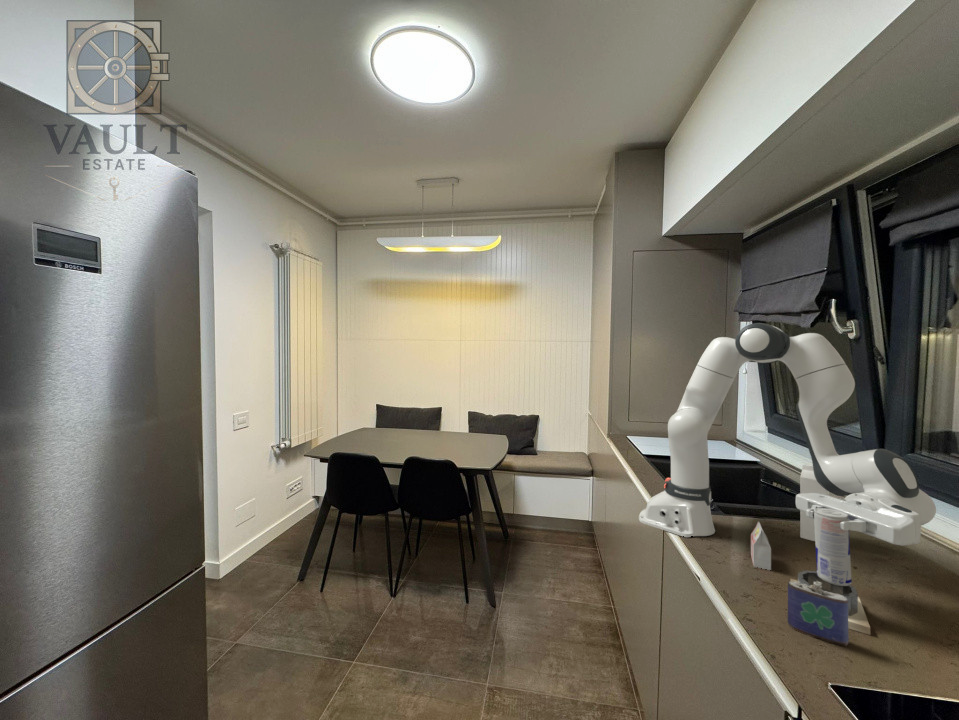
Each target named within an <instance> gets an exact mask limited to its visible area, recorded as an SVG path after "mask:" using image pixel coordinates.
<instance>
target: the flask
mask: <svg viewBox="0 0 959 720" xmlns="http://www.w3.org/2000/svg"><path fill="white" fill-rule="evenodd" d="M797 581H798V580H797ZM821 585H822V583H821V582H818V581H816V582H814V584H813V585H810V586H808V585H806V584H801V582H800V581H798V582H794V581H791V580H790V581H788V582H787V624H789V626H790V627H789V626H788V627H789V628H791V629H792V628H793V629H792V630H794V629H795V630H794V631H796V630H797V631H796V632H798V631H799V633H801V632H802V634H803V633H804V635H807V636H808V637H813V638H815V639H819V640H821V641H825V642H827V643H832V644H835V645H836V646H837V645H838V646H844V647H847V646H848V645H849V643H850V642H849V638H850V637H849V628H848V599H847V598H846V597H844V596H843V595H840V594H835V593H831V592H827V591H823V590H822V589H821V588H822V586H821Z"/></svg>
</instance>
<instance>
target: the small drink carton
mask: <svg viewBox="0 0 959 720" xmlns="http://www.w3.org/2000/svg"><path fill="white" fill-rule="evenodd" d="M763 529H764V528H762V525H761V523H760V521H757V523H756V525H755V527H754V528H753V530H752V532H751V533H750V556H751V557H750V558H751V561H752V566H753V567H754V568H757V567H758V568H757V569H761V568H762V570H765V569H767V570H766V571H770V570H771V571H772V548H771V547H772V546H771V544H770V542H769V539H768V536H767V535H766V533H765V532H764V530H763Z"/></svg>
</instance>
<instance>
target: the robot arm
mask: <svg viewBox="0 0 959 720" xmlns="http://www.w3.org/2000/svg"><path fill="white" fill-rule="evenodd" d="M777 362H781V363H783V364H785V365H786V367H787V368H788V369H789V371H790V373H791V375H792V376H793V379H794V380H795V382H796V384H797V388H798V393H799V396H798V397H799V398H798V401H797V403H796V407H795V410H796V414H797V417H798V421H799V423H800V428H801V430H802V433H803V434H802V435H803V436H804V439H805V444H806V446H807V449H808V451H809V454H810V458H811V462H812V466H813V471H814V475H815V478H816V480H817V482H818V483H819V484H820V485H821V486H822V487H823V488H824V489H826V490H827V491H829V492H830V494H833V495H835V496H837V497H835V496H831V495H830V496H828V495H825V494H820V493H802V494H800V493H798V494H795V508H796V509H798V510H799V511H800V510H802V511H805V512H806V516H807V517H810V518H813V519H814V509H816V508H826V509H832V510H837V511H841V512H843V513H845V514H847V515H848V517H847V518H848V520H847V521H841V522H840V523H839V525H840V529H842V530H844V531H846V530H849V531H854V532H860V533H863V534H865V535H867V536H871V537H873V538H876V539H878V540H881V541H884V542H887V543H889V544H892V545H896V546H909V545H917V544H920V542H921V536H922V526H924V525H926V524H929V523H930V522H931V521H932V520H933V519H934V518H935V516H936V513H937V506H936V503H935V502H934V500H933V499H932V498H931V496H930V495H929V494H928V493H926V492H925V491H923V490H922V489H920V483H919V479H918V476H917V474H916V472H915V470H914V469H913V467H912V466H911V464H910V463H909V462H908V461H907V460H906V459H904V458H903V457H901V456H900V455H898V454H897V453H895V452H893V451H891V450H888V449H885V448H875V449H868V450H864V451H863V450H862V451H858V452H852V453H847V454H839V453H838V452H837V451H836V448H835V445H834V443H833V439H832V437H831V434H830V431H829V429H828V420H829V419H828V418H829V416H830V415H831V414H832V413H833V411H835V410H836V409H837V408H839V407H840V406H841V405H843V404H844V403H846V402H847V401H848V400H849V398H851V396H852V394H853V392H854V391H855V386H856V382H855V378H854V376H853V374H852V372H851V370H850V368H849V367H848V365H847V364H846V362H845V360H844V359H843V357H842V356H841V355H840V353H839V352H838V350H836V348H835V347H834V346H833V345H832V343H831V342H830V341H829V340H828V339H827V338H826V337H825V336H824V335H823V334H820V333H816V332H807V333H801V334H798V335H795V336H790V334H787V333H786V332H784V331H783V330H782V329H781V328H779V327H777V326H774V325H771V324H768V323H764V322H763V323H762V322H755V323H750V324H747V325H745V326H743V327H742V328H741V329H740V330H739V331H738V333H736V336H735V338H732V337H726V336H721V337H720V336H719V337H717V338H716V337H715V338H714V339H712V340H711V341H710V343H709V344H708V346H707V347H706V349H704V352H703V353H702V355H701V356H700V358H699V360H698V362H697V364H696V366H695V368H694V370H693V372H692V375H691V377H690V379H689V381H688V382H687V383H688V384H687V385H686V387H685V390H684V393H683V395H682V398H681V401H680V403H679V406H678V408H677V410H676V411H675V413H674V414H672V415H671V416H670V417H669V419H668V422H667V436H668V438H667V439H668V447H669V457H670V477H666V478H665V480H664V483H663V484H664V485H663V488H664V490H663V491H661V492H659V493H657V494H655V495H653V496H652V497H651V498H649V500H647V504H646V507H645V508H643V509H642V510H641V511H640V513H639V515H638V520H639V522H640V523H641V524H644V525H646V526H649V527H652V528H656V529H659V530H662V531H665V532H669V533H671V534H674V535H677V536H681V537H683V536H684V538H691V536H693V537H707V536H708V537H709V536H712V535H714V534H715V532H716V529H715V526H714V523H713V518H712V512H711V503H712V491H711V490H712V489H711V488H712V487H711V485H710V459H709V447H708V446H709V445H708V434H709V431H710V429H711V427H712V425H713V423H714V421H715V419H716V417H717V415H718V413H719V411H720V409H721V407H722V405H723V402H724V401H725V399H726V397H727V394H728V393H729V391H730V388H731V387H732V385H733V383H734V381H735V379H736V376H737V374H738V373H739V370H740V369H741V367H742V366H743V365H744V364H746V363H761V364H773V363H777ZM838 497H844V498H843V499H840V498H838Z"/></svg>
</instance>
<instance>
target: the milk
mask: <svg viewBox="0 0 959 720" xmlns="http://www.w3.org/2000/svg"><path fill="white" fill-rule="evenodd" d="M801 467H802V470H801V472H800V477H799V478H800V480H799V481H800V482H799V485H800V486H799V487H800V488H799V489H800V490H799V491H800V492H799V494H802V493H820V494H825V495H828V496H831V495H830V494H831V492H829V491H827V490H826V489H824V488H823V487H822V486H821V485H820V484H819V483H818V482H817V480H816V478H815V475H814V471H813V465H806V464H803V465H801ZM799 511H800V513H799V514H800V516H799V518H800V521H799V522H800V523H799V525H800V527H799V529H800V530H799V533H800V535H799V537H800V538H801V539H804V540H809V541H812V542H815V526H814V519H813V518H810V517H807V516H806V512H805V511H802V510H799Z"/></svg>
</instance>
